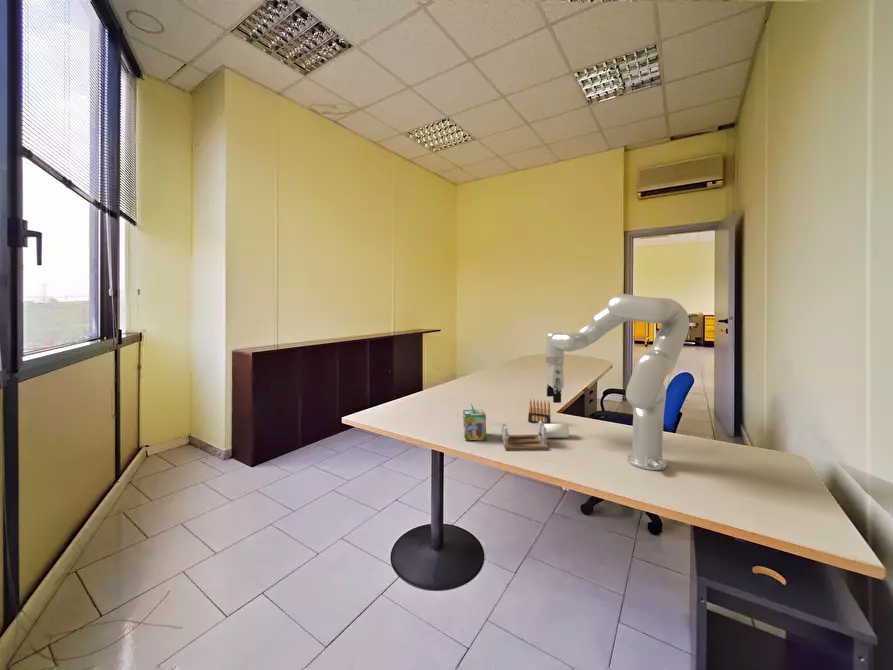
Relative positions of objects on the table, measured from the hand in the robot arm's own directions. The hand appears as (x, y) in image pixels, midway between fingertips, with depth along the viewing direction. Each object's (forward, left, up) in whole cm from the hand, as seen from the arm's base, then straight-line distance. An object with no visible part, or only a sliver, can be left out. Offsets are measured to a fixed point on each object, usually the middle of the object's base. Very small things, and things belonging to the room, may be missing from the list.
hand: (553, 399), depth 153 cm
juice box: (+1, +35, -17) cm, 39 cm away
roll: (0, 0, -17) cm, 17 cm away
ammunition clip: (+18, +2, -17) cm, 25 cm away
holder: (-7, +15, -17) cm, 23 cm away
